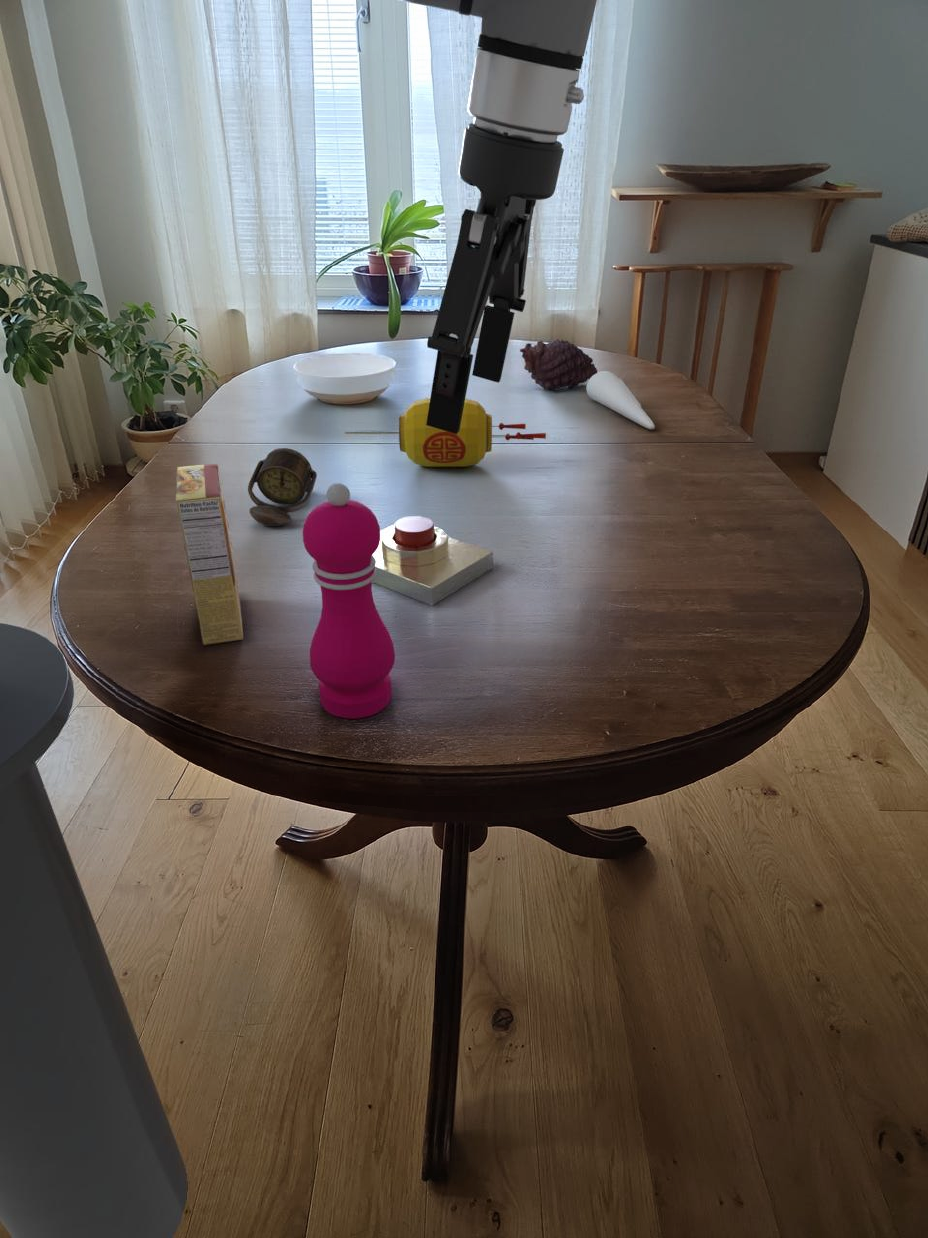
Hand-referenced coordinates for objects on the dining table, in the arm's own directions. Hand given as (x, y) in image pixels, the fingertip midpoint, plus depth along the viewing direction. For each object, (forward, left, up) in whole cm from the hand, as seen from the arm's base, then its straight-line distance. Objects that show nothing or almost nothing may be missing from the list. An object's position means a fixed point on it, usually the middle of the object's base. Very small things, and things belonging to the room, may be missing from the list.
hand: (466, 401), depth 71 cm
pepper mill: (+1, -18, -22) cm, 29 cm away
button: (-11, +4, -18) cm, 22 cm away
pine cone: (-40, +82, -22) cm, 94 cm away
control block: (-11, +4, -22) cm, 25 cm away
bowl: (-69, +51, -22) cm, 88 cm away
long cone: (-21, +72, -22) cm, 78 cm away
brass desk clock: (-37, +6, -22) cm, 43 cm away
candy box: (-19, -17, -22) cm, 33 cm away
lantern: (-30, +33, -22) cm, 50 cm away
